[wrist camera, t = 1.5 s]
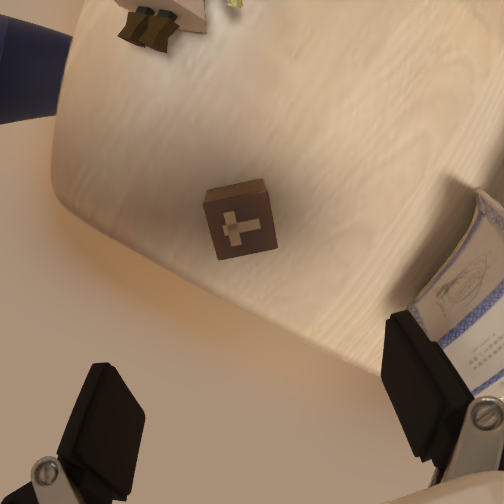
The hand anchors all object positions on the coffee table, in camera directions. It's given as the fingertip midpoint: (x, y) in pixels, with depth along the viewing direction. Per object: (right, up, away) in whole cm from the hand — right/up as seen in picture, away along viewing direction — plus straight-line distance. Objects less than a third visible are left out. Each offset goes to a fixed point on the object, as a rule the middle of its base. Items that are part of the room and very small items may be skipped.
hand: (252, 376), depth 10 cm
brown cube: (-1, +7, +14) cm, 16 cm away
